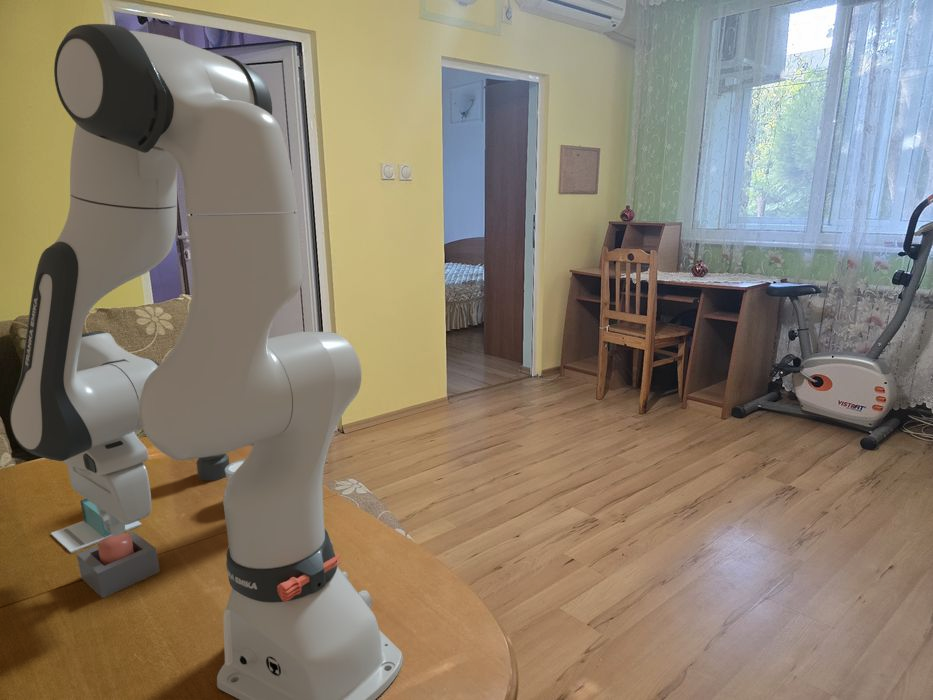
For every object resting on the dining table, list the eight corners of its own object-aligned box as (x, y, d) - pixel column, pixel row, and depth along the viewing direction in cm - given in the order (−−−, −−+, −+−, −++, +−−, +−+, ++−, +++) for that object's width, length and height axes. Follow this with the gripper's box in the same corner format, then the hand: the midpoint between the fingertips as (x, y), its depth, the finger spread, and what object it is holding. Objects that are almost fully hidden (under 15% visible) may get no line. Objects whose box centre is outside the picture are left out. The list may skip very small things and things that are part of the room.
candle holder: (216, 482, 120) (200, 363, 114) (191, 478, 122) (174, 361, 116) (236, 469, 126) (222, 355, 120) (213, 466, 128) (198, 353, 122)
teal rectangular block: (122, 530, 102) (118, 509, 101) (104, 537, 100) (100, 516, 99) (101, 514, 108) (97, 494, 107) (84, 521, 106) (80, 500, 105)
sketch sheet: (141, 525, 105) (141, 523, 105) (71, 553, 96) (70, 551, 96) (119, 509, 110) (119, 507, 110) (50, 534, 102) (50, 532, 102)
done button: (141, 568, 90) (136, 539, 89) (110, 583, 87) (104, 552, 86) (129, 558, 93) (124, 530, 92) (98, 572, 90) (92, 542, 89)
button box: (159, 571, 91) (155, 548, 90) (102, 598, 85) (97, 573, 84) (136, 553, 96) (133, 531, 95) (81, 577, 90) (76, 554, 89)
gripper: (48, 436, 89) (66, 520, 92) (102, 467, 77) (121, 563, 80) (94, 424, 94) (110, 504, 97) (153, 451, 81) (168, 543, 84)
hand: (115, 531), depth 88 cm, fingers closed
